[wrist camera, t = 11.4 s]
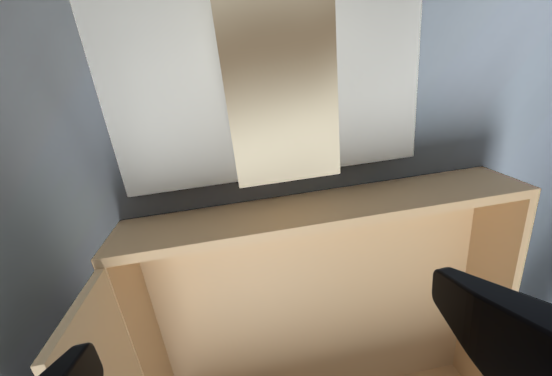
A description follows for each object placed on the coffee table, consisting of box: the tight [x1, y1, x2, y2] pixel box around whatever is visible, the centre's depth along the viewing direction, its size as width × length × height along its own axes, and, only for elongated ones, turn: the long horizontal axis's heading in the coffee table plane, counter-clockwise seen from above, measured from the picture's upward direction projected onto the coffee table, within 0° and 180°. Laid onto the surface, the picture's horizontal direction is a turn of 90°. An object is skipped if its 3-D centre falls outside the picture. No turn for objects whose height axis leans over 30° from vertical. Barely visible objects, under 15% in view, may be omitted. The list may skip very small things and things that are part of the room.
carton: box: [30, 166, 541, 376], centre depth 18 cm, size 22×17×9 cm
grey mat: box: [69, 0, 422, 197], centre depth 15 cm, size 16×16×1 cm
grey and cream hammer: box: [210, 0, 340, 188], centre depth 12 cm, size 13×5×5 cm, turn 6°
